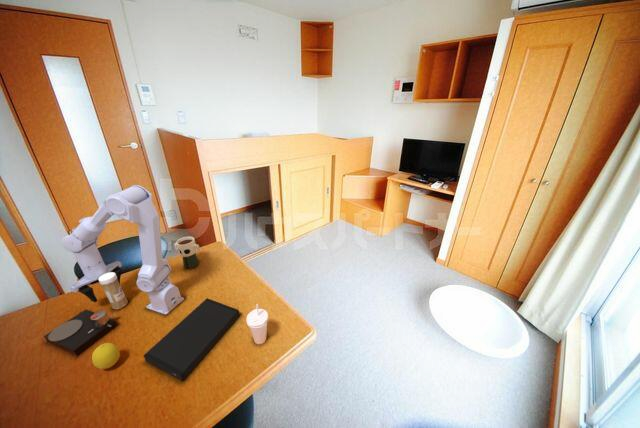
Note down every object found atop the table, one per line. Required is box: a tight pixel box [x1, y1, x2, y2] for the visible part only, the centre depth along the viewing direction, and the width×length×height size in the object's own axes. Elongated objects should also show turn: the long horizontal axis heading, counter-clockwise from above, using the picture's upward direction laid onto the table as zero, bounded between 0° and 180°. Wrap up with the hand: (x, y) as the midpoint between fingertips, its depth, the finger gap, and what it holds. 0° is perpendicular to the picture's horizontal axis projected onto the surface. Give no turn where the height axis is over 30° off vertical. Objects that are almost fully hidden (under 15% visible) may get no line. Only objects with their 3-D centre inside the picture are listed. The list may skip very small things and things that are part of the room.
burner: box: [48, 320, 83, 342], centre depth 74 cm, size 8×8×1 cm
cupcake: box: [91, 310, 110, 328], centre depth 75 cm, size 4×4×4 cm
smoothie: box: [245, 303, 269, 345], centre depth 72 cm, size 6×6×14 cm
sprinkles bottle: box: [97, 272, 129, 310], centre depth 83 cm, size 5×5×14 cm
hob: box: [43, 308, 118, 357], centre depth 76 cm, size 15×13×3 cm
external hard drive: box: [143, 298, 240, 382], centre depth 74 cm, size 14×23×3 cm, turn 158°
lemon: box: [91, 342, 121, 370], centre depth 65 cm, size 6×6×8 cm
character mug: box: [173, 236, 201, 269], centre depth 105 cm, size 11×7×13 cm, turn 87°
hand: (106, 293), depth 86 cm, fingers open, 7 cm apart
